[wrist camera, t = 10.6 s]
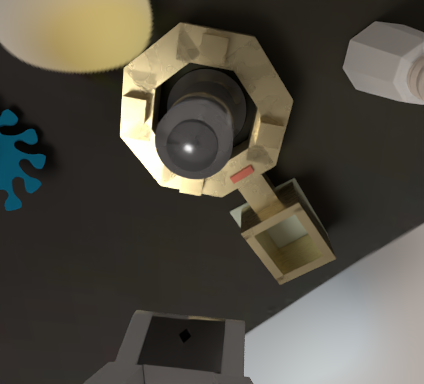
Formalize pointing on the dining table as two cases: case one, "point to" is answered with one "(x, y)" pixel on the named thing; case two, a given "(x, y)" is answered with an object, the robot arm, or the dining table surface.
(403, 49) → the salt shaker
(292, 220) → the pad
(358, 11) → the dining table surface
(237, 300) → the dining table surface
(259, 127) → the octagonal ring with loop
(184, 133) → the stud
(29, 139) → the gear
